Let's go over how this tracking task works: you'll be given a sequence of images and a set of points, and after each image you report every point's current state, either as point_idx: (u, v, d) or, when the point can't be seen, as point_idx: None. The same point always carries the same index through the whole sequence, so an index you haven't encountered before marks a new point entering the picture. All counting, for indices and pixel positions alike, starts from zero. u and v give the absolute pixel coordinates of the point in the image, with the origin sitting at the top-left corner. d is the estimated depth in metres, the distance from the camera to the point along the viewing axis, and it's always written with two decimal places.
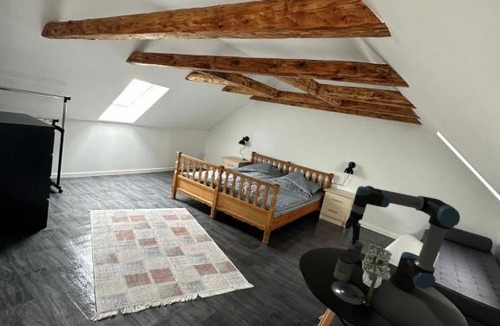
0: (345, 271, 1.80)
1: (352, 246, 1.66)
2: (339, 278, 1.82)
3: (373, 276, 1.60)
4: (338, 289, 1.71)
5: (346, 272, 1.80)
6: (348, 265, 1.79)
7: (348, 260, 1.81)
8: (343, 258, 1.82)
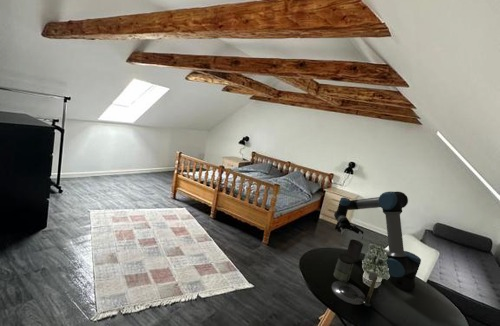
0: (345, 271, 1.80)
1: (341, 232, 1.93)
2: (339, 278, 1.82)
3: (373, 276, 1.60)
4: (338, 289, 1.71)
5: (346, 272, 1.80)
6: (348, 265, 1.79)
7: (348, 260, 1.81)
8: (343, 258, 1.82)
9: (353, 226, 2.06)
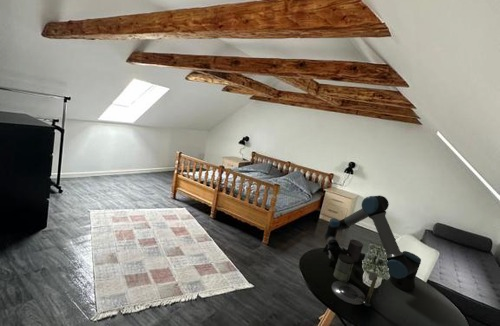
0: (345, 271, 1.80)
1: (329, 255, 1.95)
2: (339, 278, 1.82)
3: (373, 276, 1.60)
4: (338, 289, 1.71)
5: (346, 272, 1.80)
6: (348, 265, 1.79)
7: (348, 260, 1.81)
8: (343, 258, 1.82)
9: (342, 248, 2.08)
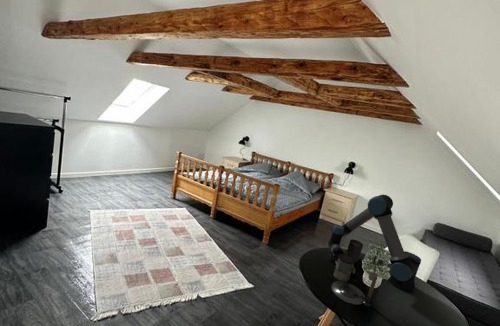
0: (345, 271, 1.80)
1: (336, 266, 1.82)
2: (339, 278, 1.82)
3: (373, 276, 1.60)
4: (338, 289, 1.71)
5: (346, 272, 1.80)
6: (348, 265, 1.79)
7: (348, 260, 1.81)
8: (343, 258, 1.82)
9: None
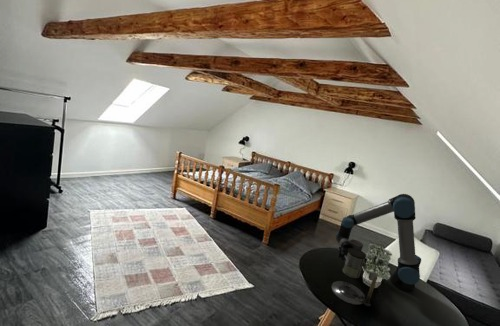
0: (355, 267, 1.65)
1: (346, 261, 1.67)
2: (349, 274, 1.67)
3: (373, 276, 1.60)
4: (338, 289, 1.71)
5: (357, 267, 1.65)
6: (359, 259, 1.64)
7: (359, 255, 1.66)
8: (353, 253, 1.67)
9: None
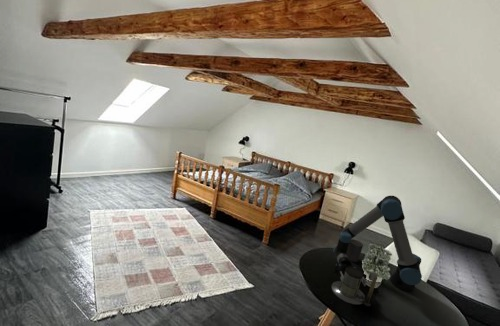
0: (353, 286, 1.64)
1: (341, 277, 1.67)
2: (346, 293, 1.67)
3: (373, 276, 1.60)
4: (338, 289, 1.71)
5: (354, 287, 1.64)
6: (356, 279, 1.63)
7: (356, 274, 1.65)
8: (350, 272, 1.66)
9: (355, 267, 1.81)
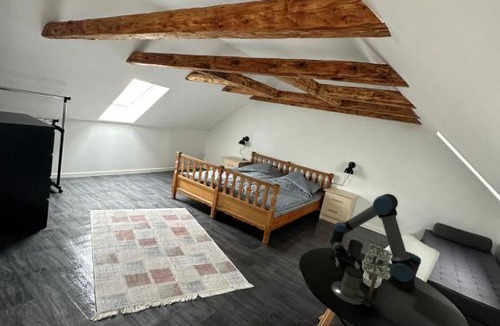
0: (353, 286, 1.64)
1: (336, 262, 1.80)
2: (346, 293, 1.67)
3: (373, 276, 1.60)
4: (338, 289, 1.71)
5: (354, 287, 1.65)
6: (356, 279, 1.63)
7: (356, 274, 1.65)
8: (350, 272, 1.66)
9: (349, 254, 1.94)
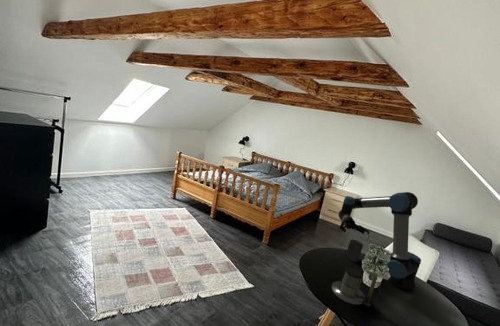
0: (353, 286, 1.64)
1: (346, 232, 1.84)
2: (346, 293, 1.67)
3: (373, 276, 1.60)
4: (338, 289, 1.71)
5: (354, 287, 1.64)
6: (356, 279, 1.63)
7: (356, 274, 1.65)
8: (351, 272, 1.66)
9: (358, 226, 1.98)
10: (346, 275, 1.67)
